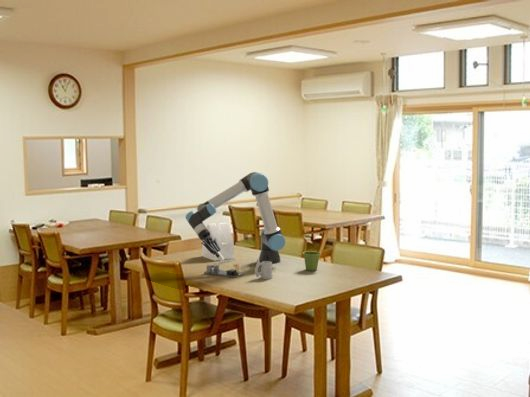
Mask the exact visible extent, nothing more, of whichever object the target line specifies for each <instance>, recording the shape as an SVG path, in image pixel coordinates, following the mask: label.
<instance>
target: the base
mask: <svg viewBox="0 0 530 397" xmlns="http://www.w3.org/2000/svg"><path fill="white" fill-rule="evenodd" d="M214 264H217V263H214ZM233 267H235V269H234V268H231V269H227V270H224V269H220V265H219V266H216V267H214V268H212V266H210V265H209V264H208V265H206V271H203V273H204V274H206V275H213V276H219V277H226V278H232V279H237V278H239V277H242V276H243V277H244V275H245V274H244V273H243V272H240V264H238V263H234V264H233Z"/></svg>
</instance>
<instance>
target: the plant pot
mask: <svg viewBox="0 0 530 397" xmlns="http://www.w3.org/2000/svg"><path fill="white" fill-rule="evenodd" d="M321 254H322V253H321V252H319V251H315V250H313V251H311V250H310V251H309V250H308V251H303V252H302V255H303V259H304V265H305V270H306V271H309V272H310V271H313V272H314V270H315V271H317V270H318V265H319V259H320V255H321Z"/></svg>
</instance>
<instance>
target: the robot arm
mask: <svg viewBox="0 0 530 397" xmlns="http://www.w3.org/2000/svg"><path fill="white" fill-rule="evenodd" d="M249 191H251V194H252V196H253V197H255V200H256V203H257V207H258V210H259V215H260V217H261V220H262V224H263V227H264V228H262V230H261V232H260V238H261V239H260V240H261V241H260V244H261V245H260V253H259V256H258V260H259V262H260V263H262V262H263V261H270V262H272V264H277V263H280V262H281V256H280V253H279V251H281V250H282V249H283V248H284V247H285V245H286V238H285V236H284V235H283V233H282V230H281V228H280V227H279V226H278V224H277V220H276V217H275V214H274V210H273V207H272V202H271V200H270V197H269V191H270V189H269V179H268V177H267V176H266V175H265V174H263V173H261V172H257V171H252V172H250V173H248V174H246V175H245V176H243V177H242V178H240V179H239V180H238V182H237V183H235V184H233V185H232V186H230V187H228V188H226V189H225V190H223V191H222V192H220V193H218V194H217V195H215V196H213V197H212V198H210V199H208V200H207V201H205V202H203V203H200V204H198V205H197V208H196V210H197V211H195V210H191V211H189V212H187V213H186V215H185V219H186V221H187V223H188V224H189V226H190V227H191V228H192V229H193V231H194V232H195V234H196V235H197V237H198V238H199V240H201V245H202V244H203V245H204V246H205V247H206V248H207V249H208V250H209V251H210V252H211V253H212V254H213V255H214V254H215V255H216V257H217V258H218V259H219V260H218V261H219V263H221V262H224V258H223V256H222V254H221V253H220V250H221V249H220V247H219V245H218V243H217V241H216V238H212V237H211V236H210V232H209V231H208V229H207V228H206V227H207V225H205V224H204V221H206V220H208V219H210V217H212V216H214V215H215V214H216V213H217V209H218V208H219V207H221V206H223V205H225V204H226V203H228V202H230V201H231V200H233V199H235V198H237V197H238V196H240V195H241V194H243V193H248V192H249Z"/></svg>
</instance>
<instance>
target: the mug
mask: <svg viewBox="0 0 530 397" xmlns="http://www.w3.org/2000/svg"><path fill="white" fill-rule="evenodd" d="M259 267H260V271H259ZM254 275H255V276H256V278H259V277H260V279H261V280H270V279H273V276H274V275H273V263H272V262H270V261H263V262H259V259H256V264H255V268H254Z"/></svg>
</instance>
